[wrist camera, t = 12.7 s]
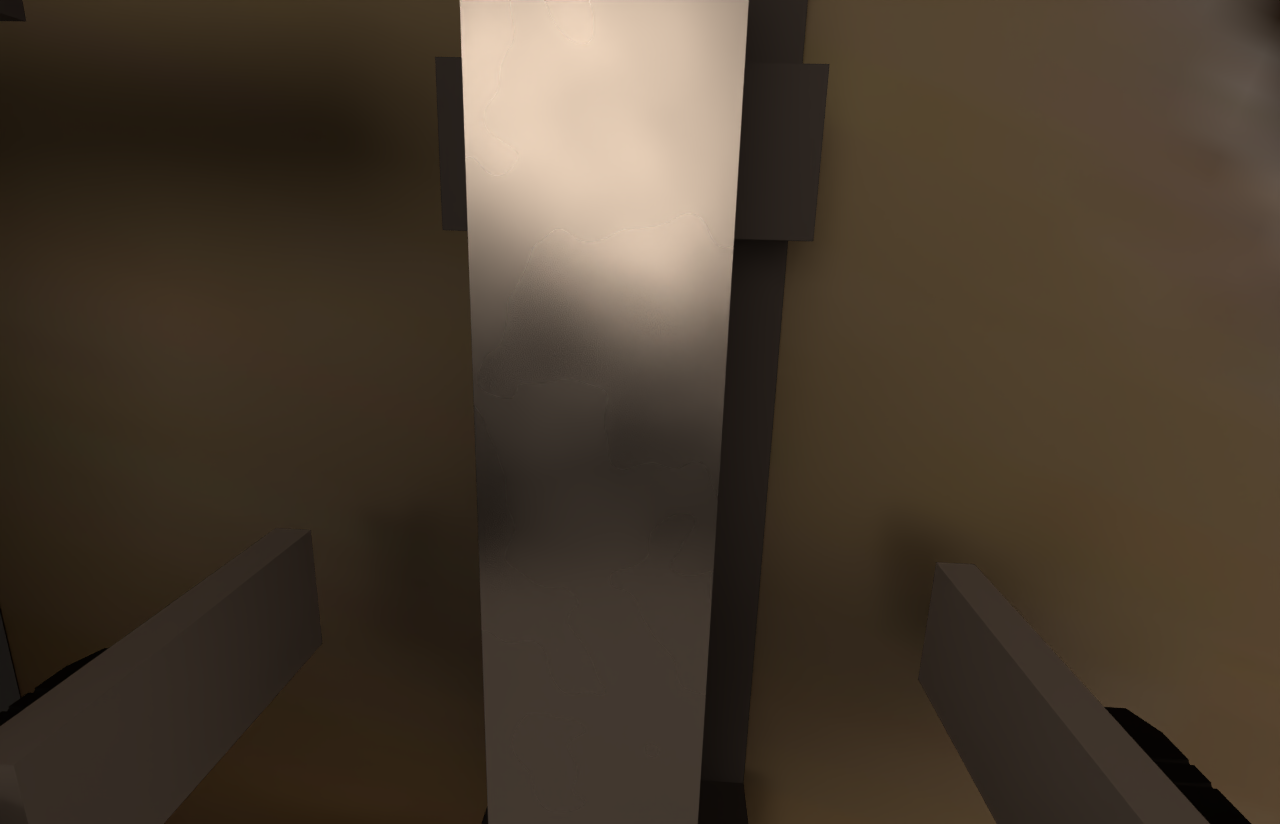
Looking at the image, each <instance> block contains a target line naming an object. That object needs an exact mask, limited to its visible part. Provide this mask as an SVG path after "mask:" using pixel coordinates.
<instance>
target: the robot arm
mask: <svg viewBox="0 0 1280 824" xmlns="http://www.w3.org/2000/svg"><path fill="white" fill-rule="evenodd" d="M321 644H322V636H321V627H320V617H319V607H318V597H317V587H316V577H315V568H314V558H313V548H312V538H311V530H303V529H284V528H275V529H274V530H272V531H271V532H270V533H268V534H267V535H265V536H264V537H263V538H261V539H260V540H259V541H257V542H256V543H254V544H253V545H252V546H250V547H249V548H247V549H246V550H245V551H243V552H242V553H240V554H239V555H238V556H236V557H235V558H234V559H232V560H231V561H229V562H228V563H227V564H225V565H224V566H222V567H221V568H220V569H218V570H217V571H215V572H214V573H213V574H211V575H210V576H209V577H207V578H206V579H204V580H203V581H202V582H200V583H199V584H197V585H196V586H195V587H193V588H192V589H190V590H189V591H188V592H186V593H185V594H183V595H182V596H181V597H179V598H178V599H177V600H175V601H174V602H172V603H171V604H170V605H168V606H167V607H165V608H164V609H163V610H161V611H160V612H158V613H157V614H156V615H154V616H153V617H152V618H150V619H149V620H147V621H146V622H145V623H143V624H142V625H140V626H139V627H138V628H136V629H135V630H133V631H132V632H131V633H129V634H128V635H126V636H125V637H124V638H122V639H121V640H120V641H118V642H117V643H115V644H114V645H113V646H111V647H110V648H104V649H102V650H100V651H98V652H96V653H94V654H91V655H89V656H87V657H85V658H83V659H81V660H79V661H76V662H74V663H72V664H70V665H68V666H66V667H65V668H63V669H62V670H60V671H59V672H57V673H56V674H55V675H53V676H52V677H50V678H49V679H47V680H46V681H44V682H43V683H42V684H40V685H39V686H37V687H36V688H35V691H34V692H33V693H27V694H26V695H24V696H23V697H22V698H20V699H19V700H17V701H16V702H14V703H13V704H12V705H10V706H9V709H8V710H7V711H2V712H0V824H164V823H165V822H166V821H167V819H168V818H169V817H170V816H171V815H172V814H173V813H174V811H175V810H176V809H177V808H178V807H179V806H180V805H181V804H182V802H183V801H184V800H185V799H186V798H187V797H188V796H189V794H190V793H191V792H192V791H193V790H194V789H195V788H196V786H197V785H198V784H199V783H200V782H201V781H202V780H203V779H204V777H205V776H206V775H207V774H208V773H209V772H210V771H211V769H212V768H213V767H214V766H215V765H216V764H217V763H218V761H219V760H220V759H221V758H222V757H223V756H224V755H225V753H226V752H227V751H228V750H229V749H230V748H231V747H232V746H233V744H234V743H235V742H236V741H237V740H238V739H239V738H240V736H241V735H242V734H243V733H244V732H245V731H246V730H247V728H248V727H249V726H250V725H251V724H252V723H253V722H254V721H255V719H256V718H257V717H258V716H259V715H260V714H261V713H262V711H263V710H264V709H265V708H266V707H267V706H268V705H269V703H270V702H271V701H272V700H273V699H274V698H275V697H276V696H277V694H278V693H279V692H280V691H281V690H282V689H283V688H284V686H285V685H286V684H287V683H288V682H289V681H290V680H291V678H292V677H293V676H294V675H295V674H296V673H297V672H298V670H299V669H300V668H301V667H302V666H303V665H304V664H305V663H306V661H307V660H308V659H309V658H310V657H311V656H312V655H313V653H314V652H315V651H316V650H317V649H318V648H319V647H320V645H321ZM918 680H919V681H920V683H921V685H922V687H923V689H924V691H925V693H926V694H927V696H928V698H929V700H930V702H931V704H932V705H933V707H934V709H935V711H936V713H937V715H938V716H939V718H940V720H941V722H942V724H943V726H944V727H945V729H946V731H947V733H948V735H949V737H950V739H951V740H952V742H953V744H954V746H955V748H956V750H957V751H958V753H959V755H960V757H961V759H962V761H963V762H964V764H965V766H966V768H967V770H968V772H969V773H970V775H971V777H972V779H973V781H974V783H975V785H976V786H977V788H978V790H979V792H980V794H981V796H982V797H983V799H984V801H985V803H986V805H987V807H988V808H989V810H990V812H991V814H992V816H993V818H994V819H995V821H996V823H997V824H1251V823H1250V822H1249V821H1248V820H1247V819H1246V818H1245V817H1244V816H1243V815H1242V814H1241V813H1240V812H1239V811H1238V810H1237V809H1236V808H1235V807H1234V806H1233V805H1232V804H1231V803H1230V802H1229V801H1228V800H1227V799H1226V797H1225V796H1224V795H1223V794H1222V793H1221V792H1220V791H1219V790H1218V789H1213V788H1212V786H1211V782H1210V781H1209V780H1208V779H1207V778H1206V777H1205V776H1204V775H1203V774H1202V773H1201V772H1200V771H1199V770H1198V769H1197V768H1196V767H1195V766H1194V765H1190V764H1189V760H1188V759H1187V758H1186V757H1185V756H1184V755H1183V754H1182V752H1181V751H1180V750H1179V749H1178V748H1177V747H1176V746H1175V745H1174V744H1173V743H1172V742H1171V741H1170V740H1169V739H1168V738H1167V737H1166V736H1165V735H1164V734H1163V733H1162V732H1161V731H1159V730H1157V729H1156V728H1154V727H1153V726H1151V725H1150V724H1148V723H1147V722H1145V721H1144V720H1142V719H1141V718H1139V717H1138V716H1136V715H1135V714H1133V713H1132V712H1130V711H1129V710H1127V709H1126V708H1112V707H1103V705H1102V704H1101V703H1100V702H1099V701H1098V700H1097V699H1096V698H1095V697H1094V695H1093V694H1092V693H1091V692H1090V691H1089V690H1088V689H1087V688H1086V687H1085V686H1084V684H1083V683H1082V682H1081V681H1080V680H1079V679H1078V678H1077V677H1076V676H1075V675H1074V673H1073V672H1072V671H1071V670H1070V669H1069V668H1068V667H1067V666H1066V665H1065V664H1064V662H1063V661H1062V660H1061V659H1060V658H1059V657H1058V656H1057V655H1056V654H1055V653H1054V651H1053V650H1052V649H1051V648H1050V647H1049V646H1048V645H1047V644H1046V643H1045V641H1044V640H1043V639H1042V638H1041V637H1040V636H1039V635H1038V634H1037V633H1036V632H1035V630H1034V629H1033V628H1032V627H1031V626H1030V625H1029V624H1028V623H1027V622H1026V621H1025V619H1024V618H1023V617H1022V616H1021V615H1020V614H1019V613H1018V612H1017V611H1016V610H1015V608H1014V607H1013V606H1012V605H1011V604H1010V603H1009V602H1008V601H1007V600H1006V598H1005V597H1004V596H1003V595H1002V594H1001V593H1000V592H999V591H998V590H997V589H996V587H995V586H994V585H993V584H992V583H991V582H990V581H989V580H988V579H987V578H986V576H985V575H984V574H983V573H982V572H981V571H980V570H979V569H978V568H977V567H976V565H975V564H959V563H940V562H936V567H935V574H934V580H933V587H932V593H931V600H930V606H929V613H928V619H927V626H926V632H925V639H924V645H923V652H922V658H921V665H920V671H919V678H918Z"/></svg>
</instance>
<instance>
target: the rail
mask: <svg viewBox="0 0 1280 824" xmlns="http://www.w3.org/2000/svg"><path fill="white" fill-rule="evenodd" d="M748 4H749V0H460V17H461V46H462V75H463V104H464V133H465V162H466V191H467V220H468V250H469V279H470V308H471V337H472V366H473V395H474V424H475V453H476V482H477V511H478V540H479V569H480V598H481V627H482V656H483V685H484V714H485V743H486V772H487V802H488V824H698V811H699V795H700V779H701V763H702V747H703V731H704V714H705V698H706V682H707V666H708V650H709V634H710V618H711V601H712V585H713V569H714V553H715V537H716V521H717V504H718V488H719V472H720V456H721V440H722V424H723V408H724V391H725V375H726V359H727V343H728V327H729V311H730V295H731V278H732V262H733V246H734V230H735V214H736V198H737V181H738V165H739V149H740V133H741V117H742V101H743V85H744V68H745V52H746V36H747V20H748Z"/></svg>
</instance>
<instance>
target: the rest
mask: <svg viewBox="0 0 1280 824" xmlns="http://www.w3.org/2000/svg"><path fill="white" fill-rule="evenodd" d="M807 2H808V0H749V4H748V20H747V36H746V52H745V68H744V85H743V101H742V117H741V133H740V149H739V165H738V181H737V198H736V214H735V230H734V246H733V262H732V278H731V295H730V311H729V327H728V343H727V359H726V375H725V391H724V408H723V424H722V440H721V456H720V472H719V488H718V504H717V521H716V537H715V553H714V569H713V585H712V601H711V618H710V634H709V650H708V666H707V682H706V698H705V714H704V731H703V747H702V763H701V779H700V795H699V811H698V824H748V818H747V810H746V801H745V793H744V785H743V781H744V769H745V757H746V745H747V733H748V720H749V708H750V696H751V684H752V672H753V660H754V647H755V635H756V623H757V611H758V599H759V587H760V574H761V562H762V550H763V538H764V526H765V513H766V501H767V489H768V477H769V465H770V453H771V440H772V428H773V416H774V404H775V392H776V380H777V367H778V355H779V343H780V331H781V319H782V306H783V294H784V282H785V270H786V258H787V246H788V241H813V238H814V227H815V216H816V206H817V195H818V184H819V173H820V162H821V151H822V140H823V129H824V118H825V107H826V96H827V85H828V74H829V64H802V63H803V51H804V39H805V26H806V14H807ZM435 63H436V86H437V110H438V133H439V156H440V180H441V203H442V226H443V230H457V231H468V220H467V191H466V162H465V133H464V104H463V75H462V57H435ZM482 824H488V806H487V809H486V812H485V815H484V818H483V821H482Z"/></svg>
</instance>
